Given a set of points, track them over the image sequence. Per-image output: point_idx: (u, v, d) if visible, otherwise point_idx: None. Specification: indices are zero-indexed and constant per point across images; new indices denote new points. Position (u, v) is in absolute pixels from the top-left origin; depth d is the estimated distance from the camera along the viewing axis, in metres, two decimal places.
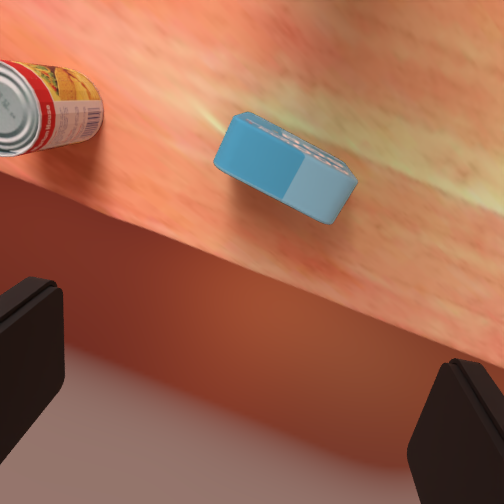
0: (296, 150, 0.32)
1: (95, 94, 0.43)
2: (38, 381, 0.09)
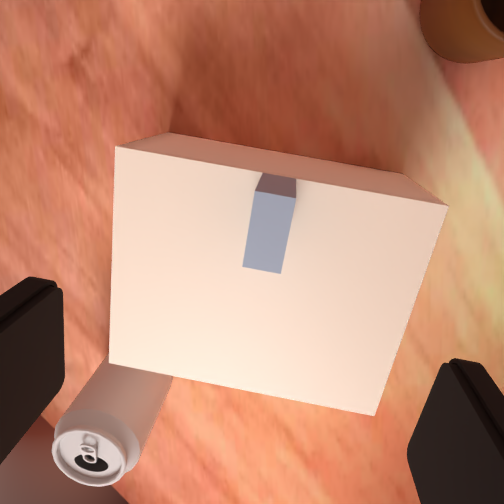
0: None
1: None
2: (38, 381, 0.09)
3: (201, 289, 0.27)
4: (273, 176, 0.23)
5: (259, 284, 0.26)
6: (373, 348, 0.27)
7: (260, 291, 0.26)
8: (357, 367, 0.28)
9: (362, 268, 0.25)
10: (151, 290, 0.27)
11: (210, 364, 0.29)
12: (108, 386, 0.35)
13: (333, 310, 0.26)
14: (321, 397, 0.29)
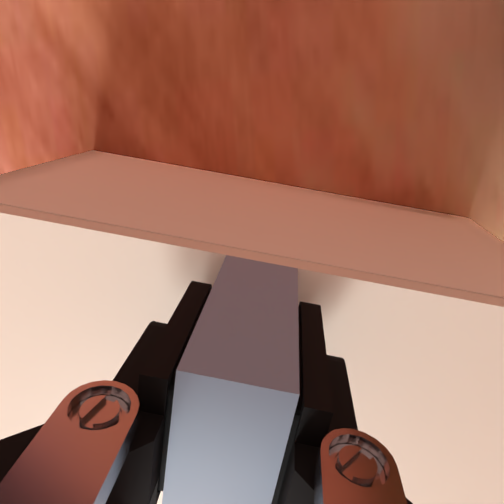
0: None
1: None
2: None
3: None
4: (247, 267, 0.10)
5: None
6: None
7: None
8: None
9: (429, 436, 0.13)
10: None
11: None
12: None
13: None
14: None
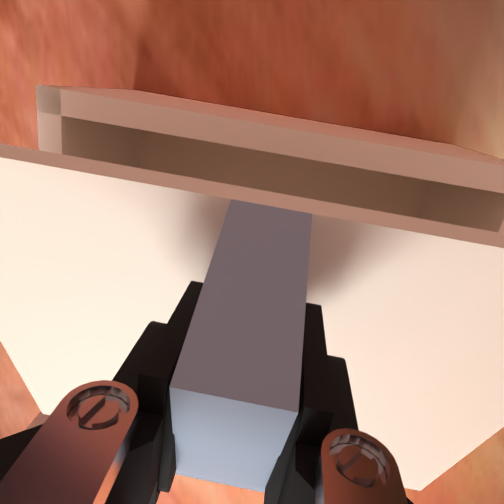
0: None
1: None
2: None
3: None
4: (254, 218, 0.09)
5: None
6: (435, 441, 0.17)
7: None
8: (404, 454, 0.18)
9: (440, 360, 0.13)
10: (67, 354, 0.16)
11: None
12: None
13: (374, 401, 0.15)
14: None
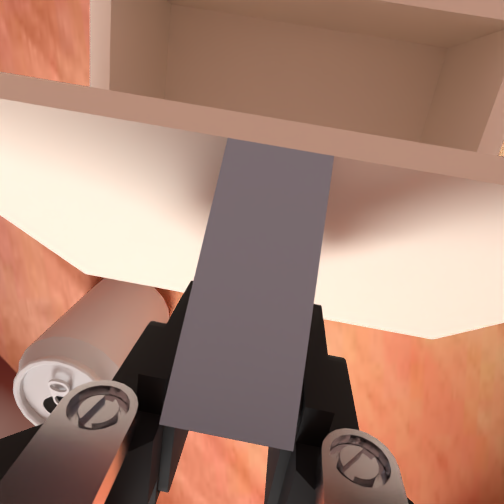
0: None
1: None
2: None
3: (166, 252, 0.16)
4: (257, 170, 0.07)
5: None
6: (454, 318, 0.17)
7: None
8: (422, 321, 0.19)
9: (473, 275, 0.12)
10: (90, 243, 0.16)
11: None
12: (88, 314, 0.28)
13: (397, 293, 0.15)
14: (364, 324, 0.22)
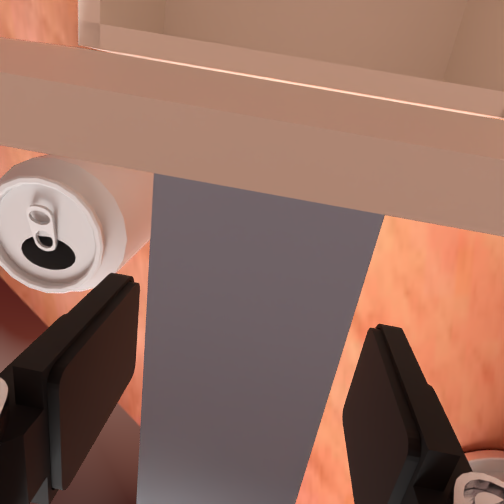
0: None
1: None
2: (120, 368, 0.10)
3: None
4: (222, 245, 0.04)
5: None
6: None
7: None
8: None
9: None
10: None
11: None
12: None
13: None
14: None
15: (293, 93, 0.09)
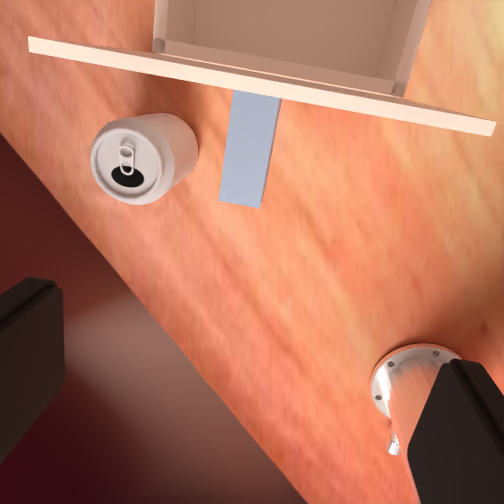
0: None
1: None
2: (38, 381, 0.09)
3: None
4: (247, 105, 0.17)
5: None
6: None
7: None
8: None
9: None
10: None
11: None
12: (142, 116, 0.36)
13: None
14: None
15: None
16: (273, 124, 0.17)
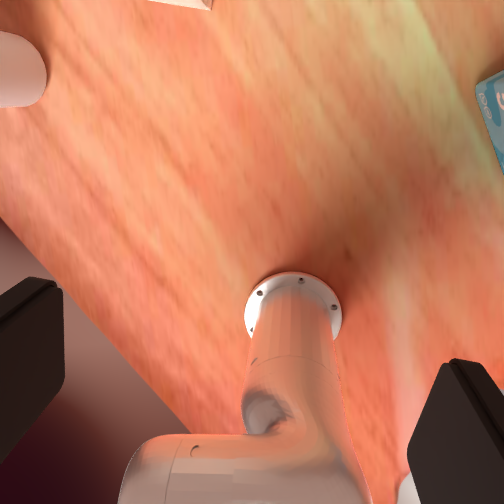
0: None
1: None
2: (38, 381, 0.09)
3: None
4: None
5: None
6: None
7: None
8: None
9: None
10: None
11: None
12: None
13: None
14: None
15: None
16: None
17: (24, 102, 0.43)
